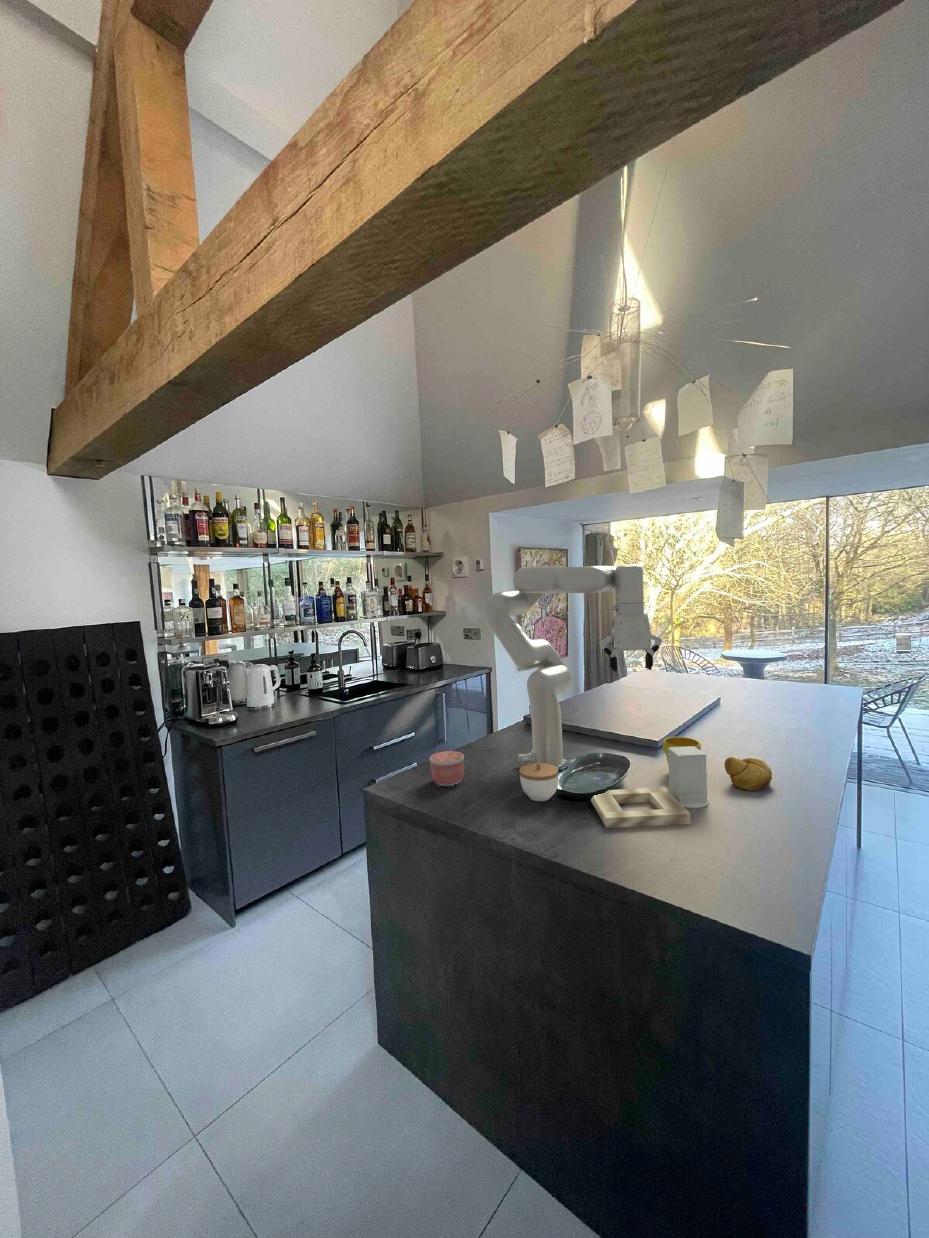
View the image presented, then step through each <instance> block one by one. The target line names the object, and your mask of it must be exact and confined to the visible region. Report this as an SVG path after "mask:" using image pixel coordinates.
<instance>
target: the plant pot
mask: <svg viewBox="0 0 929 1238" xmlns="http://www.w3.org/2000/svg"><path fill="white" fill-rule="evenodd" d="M687 746H695V747H696V748H698V749H699V750H700V751H702V749H701V747H702V746H701V742H700V741H699V740H697V739H695V738H690V737H686V736H685V737H684V736H669V737H666V738H664V739H663V740H662V751H663V753H664V754H665V757H666V761H667V762H666V763H667V766H668V767H669V763H668V748H670V747H687Z"/></svg>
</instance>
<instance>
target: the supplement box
mask: <svg viewBox="0 0 929 1238" xmlns="http://www.w3.org/2000/svg"><path fill="white" fill-rule="evenodd" d="M668 763H669V766H668V782H669V784H668V788H669V789H668V791H669V792H670V793H671V794H672V795H673V797H674V798H675V799H676V800H677V801H678V802H679V803H704V802H707V797H708V778H707V777H708V774H707V754H706V753H705V752H703V751H702V750H701V751H700V750H699V749H698V748H696V747H695V746H687V747H670V748H668V762H667V764H668Z"/></svg>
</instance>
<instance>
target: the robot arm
mask: <svg viewBox="0 0 929 1238" xmlns="http://www.w3.org/2000/svg"><path fill="white" fill-rule="evenodd" d="M512 583H513V586H514V587H515V590H503V591H498V592H494V593H493V594H491V595H490V596H489V597H488V598H487V600H486V602H485V605H484V618H485V621H486V623H487V625H488V627H489V629H490V630H491V632H492V633H493V634H494V635H495V637H496V638H497V640H498V641H499V643H501V645H502V646H503V648H504V650H505V651H506V653H507V654H508V656H509V657H510V659H511V660H512V662H513V663H514V665H515V666H516V667H517V668H518V669H519V670H521V671H530V670H534V669H537V670H534V671H533V672H532V673H530V675H528V676H529V677H528V678H527V681H526V689H527V690H526V691H527V695H528V698H529V699H528V700H529V706H530V720H531V735H532V737H531V738H532V739H531V740H532V749H531V750H530V752H528V753H522V754H521V753H519V754H518V761H523V763H528V764H531V763H547V764H551V765H554V766H556V767H558V766H559V765H561V764H562V763H565V762H566V761H568V760H567V759H565V758H564V750H563V749H564V746H563V745H564V744H563V727H562V726H563V725H562V710H561V705H560V702H559V700H558V695H560V694H563V693H564V692H567V691H568V690H569V689H570V688H571V686H572V684H573V676H572V673H571V670H570V669H569V667H568V666H567V664H566V663H565V661H564V660H563V659H562V657H561V656H560V654H559V653H558V652H557V650H556V649H555V648H554V646H553V645H552V643H550V642H549V641H547V640H546V639H543V638H534V639H531V638H530V636H528V634H526V632H525V631H524V629H523V627H522V626H521V625H520V624H519V623H517V622H516V621H515V620H514V619H513V618H512V617H513V616H519V615H523V614H526V613H527V612H529V611H530V610H531V609H533V607H534V605H536V604H537V603H538V601H539V600H541V598H542V597H543V596H544V595H545V594H560V595H562V594H565V593H566V594H597V593H605V592H606V593H607V592H614V593H615V594H614V596H615V603H614V605H611V606H610V611H611V612H614V613H615V614H613V616H612V623H611V635H609V636H607V637H605V638H603V639H602V640H600V641H599V645H600V648H601V649H602V650H603V652H604V653H605V654H606V655H607V656H608V657H609V669H611V670H612V671H613V672H617V671H618V658H617V657H616V655H617V654H618V653H619V652H622V651H645V653H646V654H645V655H644V659H645V660H644V662H645V663H644V664H645V669H647V670H649V671H652V668H653V666H654V655H655V654H656V652H658V651H659V649H660V646H661V644H662V642H663V638H661V637H658V636H656V635H654V634H652V632H651V627H650V626H651V625H650V619H649V615H648V613H645V603H644V602H645V601H644V598H645V597H644V595H645V594H644V569H643V567H642V565H640V564H625V565H619V566H618V565H617V566H613V565H591V566H590V565H589V566H588V565H587V566H563V565H543V566H541V565H540V566H525V567H521V568H519V569H518V570H517V571H516V572H515V573H514V575H513V578H512ZM652 641H654V644H653V645H652ZM610 642H611V648H610V649H609V648H608V646H607V644H608V643H610Z"/></svg>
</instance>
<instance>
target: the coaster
mask: <svg viewBox="0 0 929 1238" xmlns="http://www.w3.org/2000/svg"><path fill="white" fill-rule="evenodd" d="M680 804H681V805H682V806H683V807H684V808H685V809H686V808H687V809H701V808H705V807H707V806H708V805H709V804H710V798H709V797H708V796H707V802H704V803H680Z"/></svg>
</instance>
